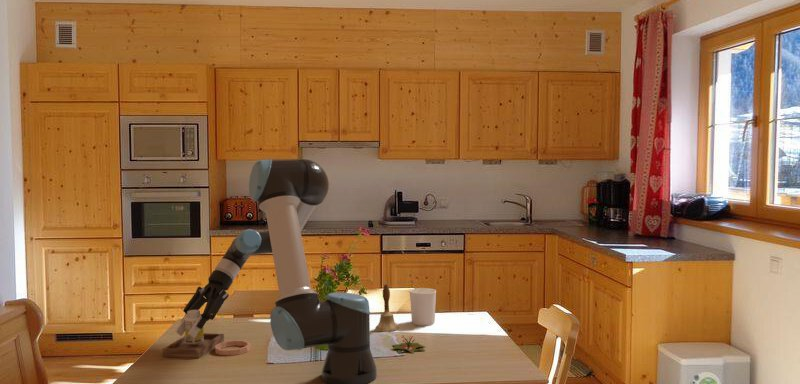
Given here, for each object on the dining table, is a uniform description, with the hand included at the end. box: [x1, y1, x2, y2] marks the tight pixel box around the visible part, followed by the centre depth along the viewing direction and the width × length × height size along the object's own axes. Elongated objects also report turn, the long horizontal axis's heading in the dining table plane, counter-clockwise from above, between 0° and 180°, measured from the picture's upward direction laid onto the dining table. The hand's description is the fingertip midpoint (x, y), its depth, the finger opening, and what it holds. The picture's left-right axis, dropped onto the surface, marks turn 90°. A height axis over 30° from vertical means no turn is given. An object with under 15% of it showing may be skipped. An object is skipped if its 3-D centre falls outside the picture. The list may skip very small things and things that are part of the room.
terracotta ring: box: [214, 339, 251, 356], centre depth 199 cm, size 11×11×2 cm
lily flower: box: [390, 334, 426, 354], centre depth 199 cm, size 12×12×5 cm
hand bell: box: [375, 284, 400, 333], centre depth 222 cm, size 8×8×16 cm
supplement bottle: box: [184, 309, 205, 344], centre depth 201 cm, size 6×6×10 cm
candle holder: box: [409, 287, 437, 327], centre depth 229 cm, size 10×10×12 cm
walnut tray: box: [162, 332, 225, 359], centre depth 201 cm, size 18×12×2 cm, turn 171°
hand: (184, 334), depth 198 cm, fingers closed on supplement bottle, 5 cm apart
